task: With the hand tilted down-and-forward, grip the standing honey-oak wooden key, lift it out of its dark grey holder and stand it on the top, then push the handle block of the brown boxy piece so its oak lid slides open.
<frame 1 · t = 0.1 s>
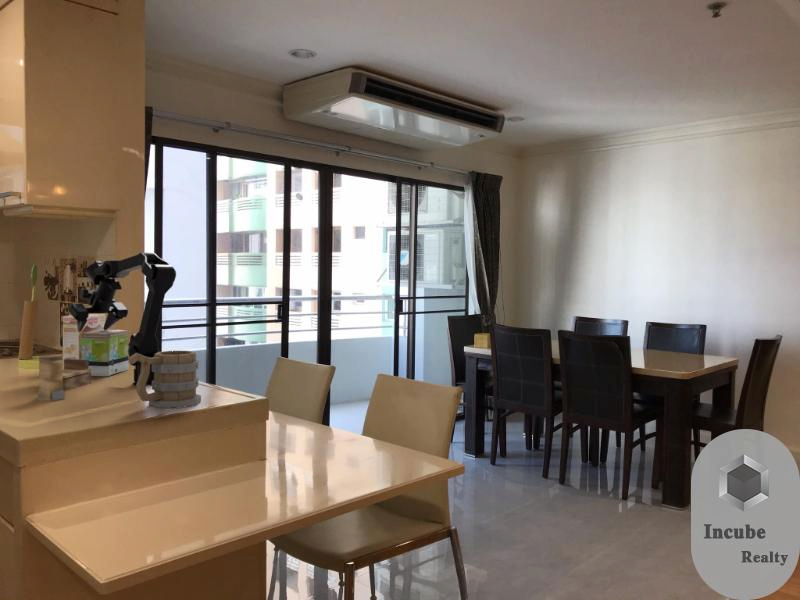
hand: (91, 330, 224), 15 cm above the table, tool tilted 35°, fingers open, 9 cm apart
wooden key: (51, 398, 177), point 1 cm above the table, touching key holder
lid: (66, 368, 195), point 6 cm above the table, slide at 0.0 cm
tea box: (105, 373, 226), on the table, touching gripper
brown boxy piece: (66, 389, 195), on the table
tankard: (163, 406, 175), on the table
coffeecake box: (85, 368, 237), on the table
key holder: (51, 401, 177), on the table
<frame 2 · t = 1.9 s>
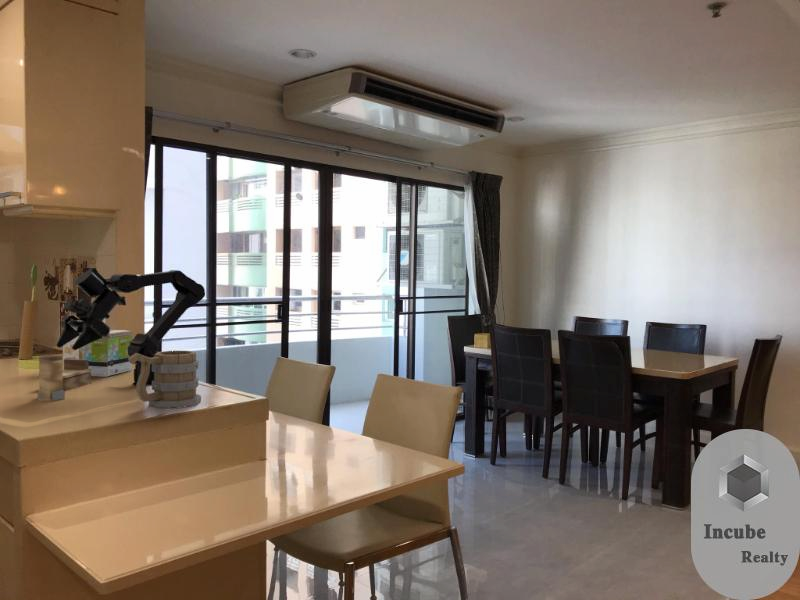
hand: (65, 347, 186), 14 cm above the table, tool tilted 45°, fingers open, 9 cm apart
tea box: (107, 374, 226), on the table
everything else where it was.
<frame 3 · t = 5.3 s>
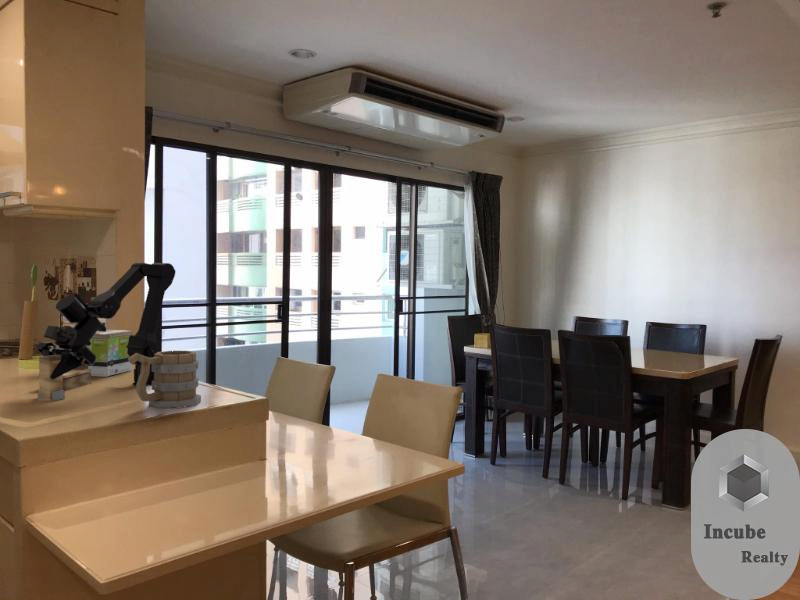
hand: (46, 377, 176), 7 cm above the table, tool tilted 45°, fingers closed on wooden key, 4 cm apart
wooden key: (51, 398, 177), point 1 cm above the table, touching gripper, key holder
everything else where it was.
when the fingers open (7 cm above the table, at t = 8.4 s): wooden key drops 1 cm, on the table.
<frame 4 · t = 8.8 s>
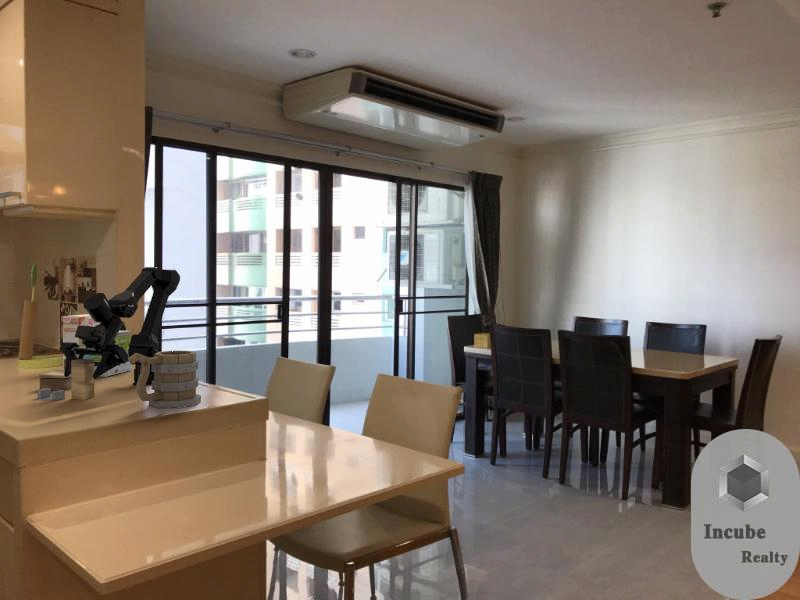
hand: (79, 377, 177), 7 cm above the table, tool tilted 45°, fingers open, 9 cm apart
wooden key: (83, 401, 179), on the table
everything else where it was.
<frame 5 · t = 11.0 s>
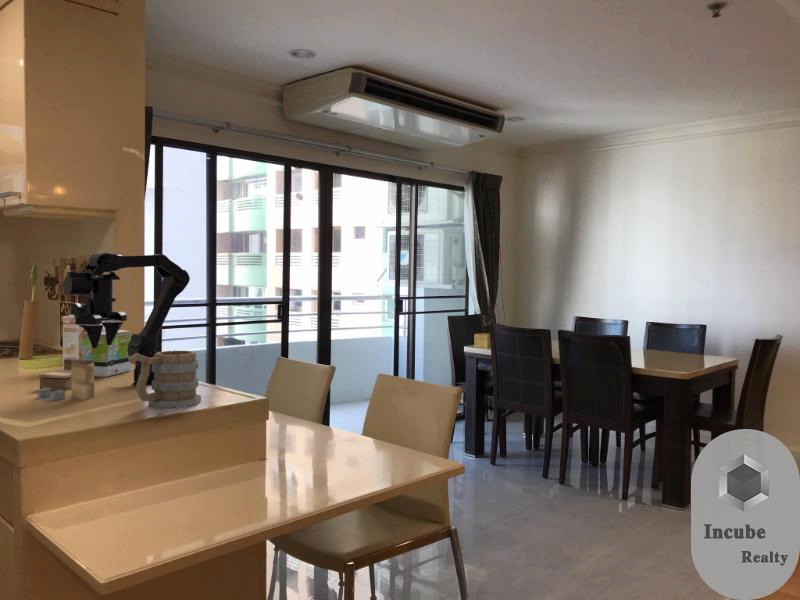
hand: (101, 346, 195), 13 cm above the table, tool pointing down, fingers open, 8 cm apart
nothing on the table moved.
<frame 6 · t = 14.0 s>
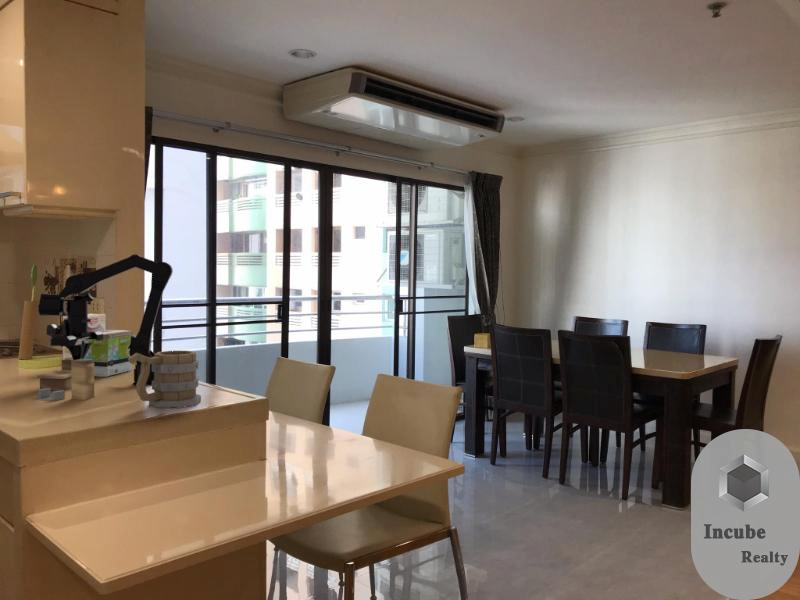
hand: (77, 365, 201), 6 cm above the table, tool pointing down, fingers closed
lid: (63, 368, 194), point 6 cm above the table, slide at 1.2 cm, touching gripper
everything else where it was.
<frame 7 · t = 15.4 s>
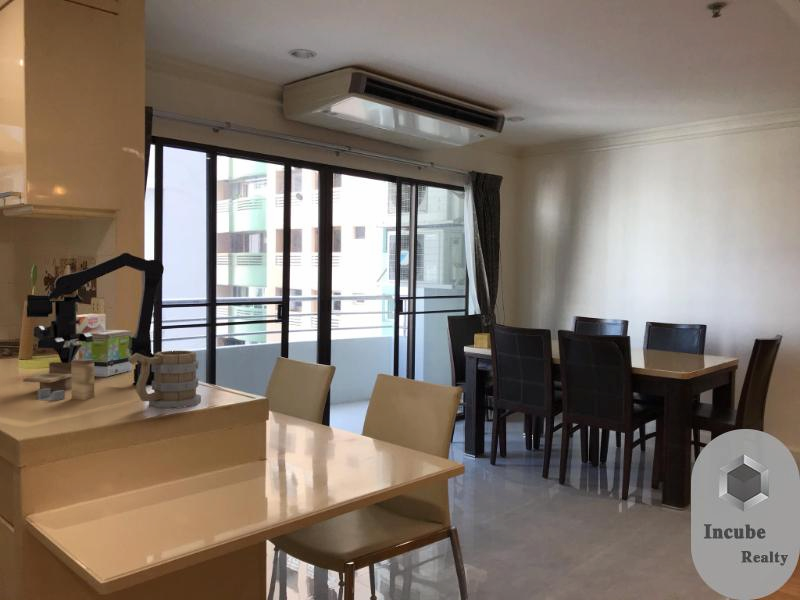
hand: (66, 368, 195), 6 cm above the table, tool pointing down, fingers closed
lid: (51, 371, 188), point 6 cm above the table, slide at 7.0 cm, touching gripper
everything else where it was.
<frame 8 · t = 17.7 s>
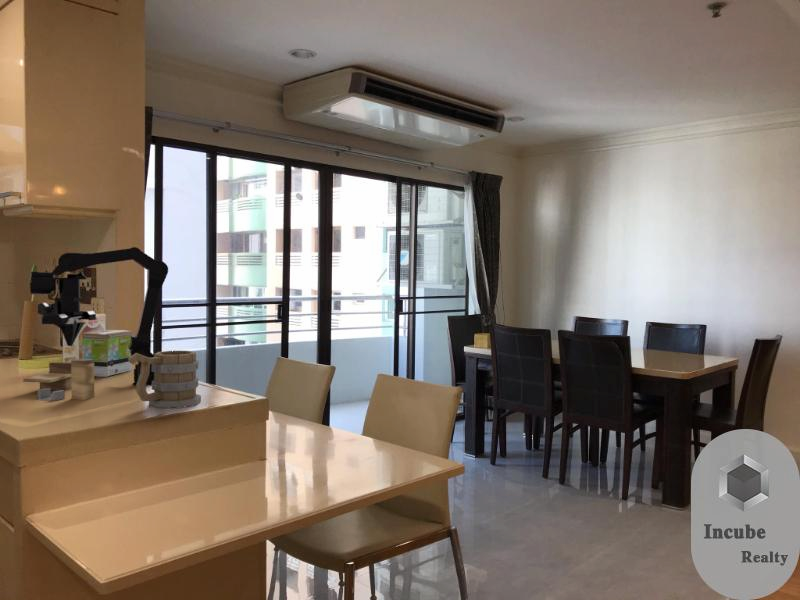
hand: (69, 345, 197), 13 cm above the table, tool pointing down, fingers closed
lid: (51, 371, 188), point 6 cm above the table, slide at 7.1 cm
everything else where it was.
at the end: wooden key inside the target area (0.0 cm from its centre), on the table; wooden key tilted 0°; lid slide at 7.1 cm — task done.
